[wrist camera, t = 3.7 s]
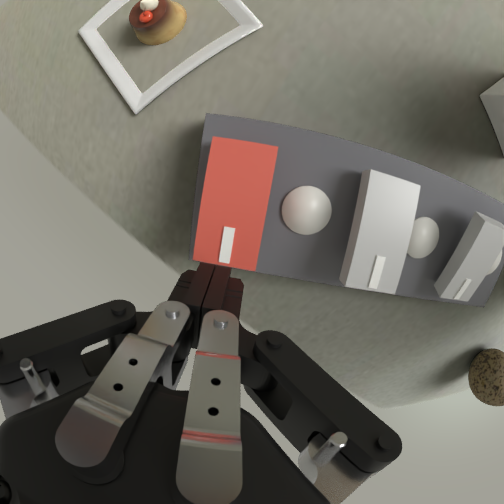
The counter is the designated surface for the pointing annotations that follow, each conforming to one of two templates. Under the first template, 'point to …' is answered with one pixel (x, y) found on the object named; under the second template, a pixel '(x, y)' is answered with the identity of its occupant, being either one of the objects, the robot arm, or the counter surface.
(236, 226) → the red rocker
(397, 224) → the middle rocker
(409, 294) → the rocker switch box
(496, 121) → the milk carton
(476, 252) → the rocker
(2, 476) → the robot arm
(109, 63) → the dessert
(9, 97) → the counter surface
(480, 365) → the decorative egg
